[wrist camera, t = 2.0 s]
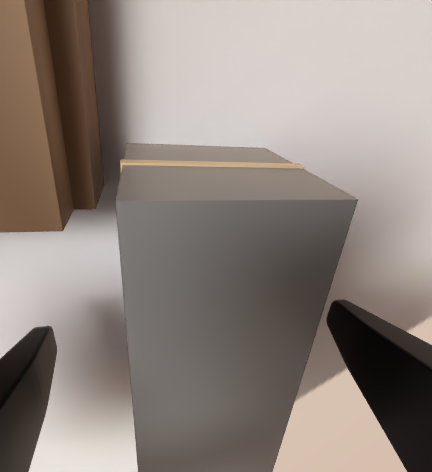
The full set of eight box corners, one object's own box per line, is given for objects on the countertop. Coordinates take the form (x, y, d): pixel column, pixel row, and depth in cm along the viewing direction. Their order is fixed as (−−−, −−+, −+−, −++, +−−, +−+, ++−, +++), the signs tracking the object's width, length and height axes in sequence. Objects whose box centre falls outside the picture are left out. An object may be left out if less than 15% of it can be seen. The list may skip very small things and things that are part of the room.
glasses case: (264, 145, 10) (360, 197, 6) (233, 355, 14) (273, 472, 10) (125, 140, 9) (111, 198, 5) (139, 368, 13) (139, 504, 9)
